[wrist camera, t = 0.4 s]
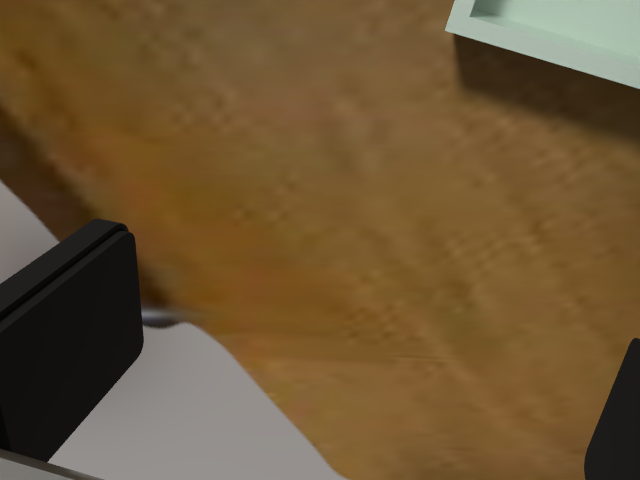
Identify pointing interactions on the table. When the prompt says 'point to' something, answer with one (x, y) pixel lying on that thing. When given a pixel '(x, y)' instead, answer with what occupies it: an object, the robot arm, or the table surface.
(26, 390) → the robot arm
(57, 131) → the table surface
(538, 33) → the green bin
